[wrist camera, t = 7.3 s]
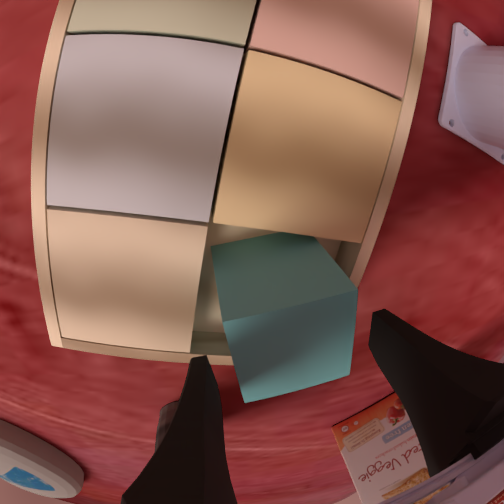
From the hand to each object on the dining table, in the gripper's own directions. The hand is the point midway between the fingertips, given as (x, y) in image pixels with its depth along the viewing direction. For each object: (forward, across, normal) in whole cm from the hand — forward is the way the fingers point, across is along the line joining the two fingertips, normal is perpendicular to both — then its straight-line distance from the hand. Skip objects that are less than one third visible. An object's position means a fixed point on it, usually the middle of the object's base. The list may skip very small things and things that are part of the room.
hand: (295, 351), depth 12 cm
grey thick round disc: (+7, +35, +21) cm, 41 cm away
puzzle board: (+6, +1, -8) cm, 11 cm away
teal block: (+6, 0, 0) cm, 6 cm away
